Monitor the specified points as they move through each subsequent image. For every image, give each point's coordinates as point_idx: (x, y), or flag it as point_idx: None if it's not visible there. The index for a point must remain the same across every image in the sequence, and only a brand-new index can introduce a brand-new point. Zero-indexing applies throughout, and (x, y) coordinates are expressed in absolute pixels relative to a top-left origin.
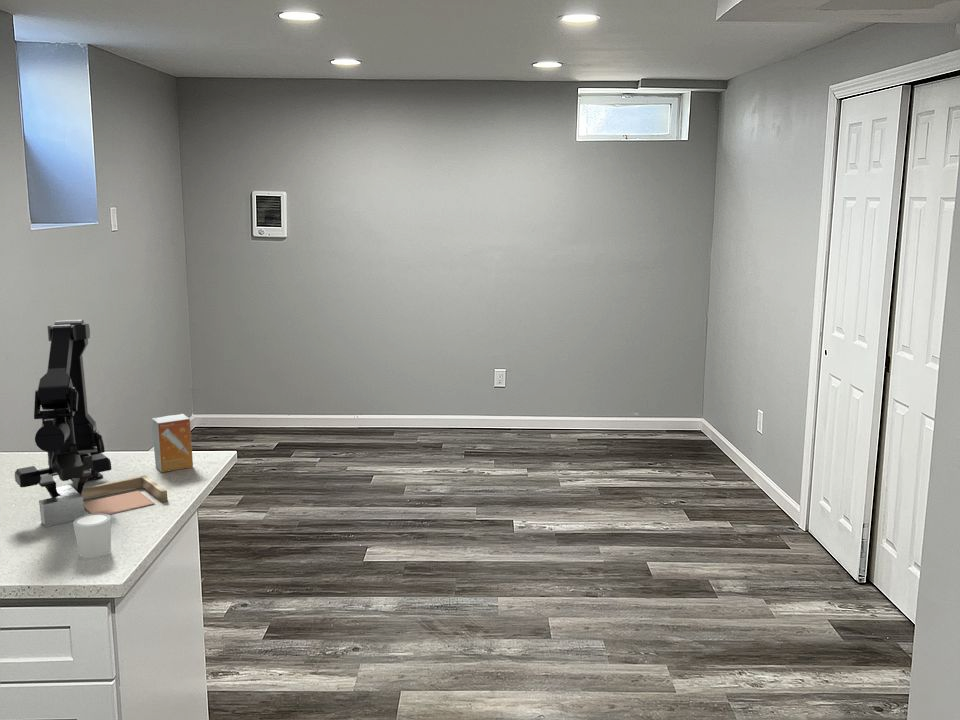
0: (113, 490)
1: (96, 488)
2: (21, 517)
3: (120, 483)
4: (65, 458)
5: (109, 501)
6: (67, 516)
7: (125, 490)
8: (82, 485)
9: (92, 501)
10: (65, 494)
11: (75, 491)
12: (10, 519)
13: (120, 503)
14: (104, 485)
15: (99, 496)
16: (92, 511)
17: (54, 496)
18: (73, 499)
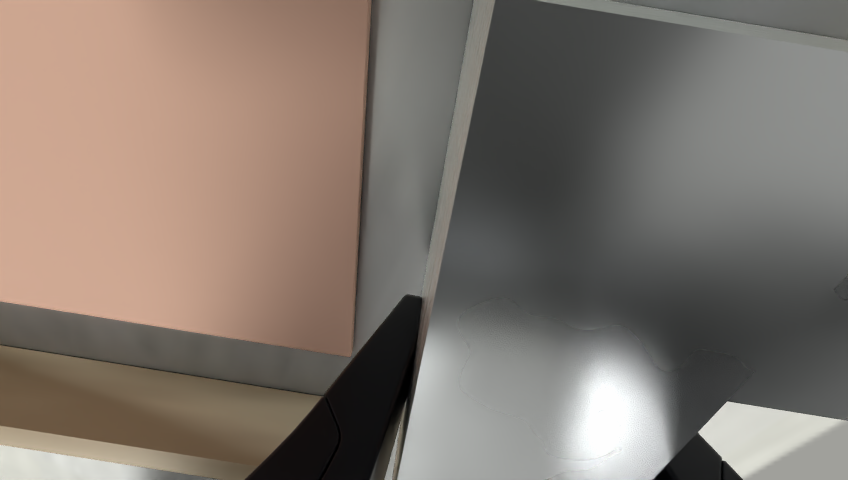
0: (96, 381)
1: (186, 439)
2: (752, 411)
3: (5, 411)
4: None
5: (141, 239)
6: (721, 20)
7: (31, 353)
8: (280, 477)
9: (267, 328)
10: (630, 405)
11: (437, 405)
12: (815, 427)
13: (30, 109)
14: (118, 440)
15: (207, 378)
16: (335, 103)
17: (702, 459)
18: (761, 41)
